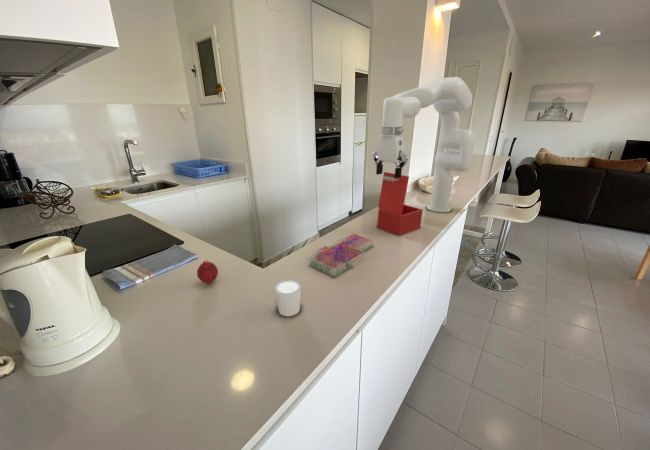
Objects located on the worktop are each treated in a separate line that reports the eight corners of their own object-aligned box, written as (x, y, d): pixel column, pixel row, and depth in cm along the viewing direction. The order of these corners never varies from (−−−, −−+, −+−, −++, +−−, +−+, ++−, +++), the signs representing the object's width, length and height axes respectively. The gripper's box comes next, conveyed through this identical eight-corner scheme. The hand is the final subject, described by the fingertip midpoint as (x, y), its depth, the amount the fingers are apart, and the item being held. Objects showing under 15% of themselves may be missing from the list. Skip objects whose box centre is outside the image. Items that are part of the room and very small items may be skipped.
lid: (385, 172, 121) (377, 171, 118) (409, 176, 112) (401, 176, 109) (379, 208, 126) (371, 208, 123) (401, 215, 117) (393, 216, 113)
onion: (223, 279, 87) (219, 257, 84) (210, 289, 82) (206, 265, 79) (208, 276, 89) (204, 254, 86) (194, 285, 84) (190, 262, 81)
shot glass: (291, 321, 69) (290, 298, 67) (270, 311, 73) (268, 289, 70) (307, 306, 75) (306, 284, 72) (287, 298, 78) (286, 276, 75)
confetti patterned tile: (352, 237, 118) (352, 226, 116) (382, 248, 108) (383, 236, 106) (299, 262, 97) (299, 249, 95) (331, 278, 88) (331, 264, 86)
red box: (398, 220, 138) (400, 203, 135) (420, 227, 129) (422, 209, 125) (377, 227, 129) (378, 209, 126) (398, 235, 120) (401, 216, 117)
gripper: (416, 132, 103) (411, 178, 109) (381, 130, 116) (378, 171, 122) (403, 133, 99) (399, 180, 105) (368, 131, 112) (366, 173, 118)
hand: (388, 175), depth 114 cm, fingers open, 9 cm apart
